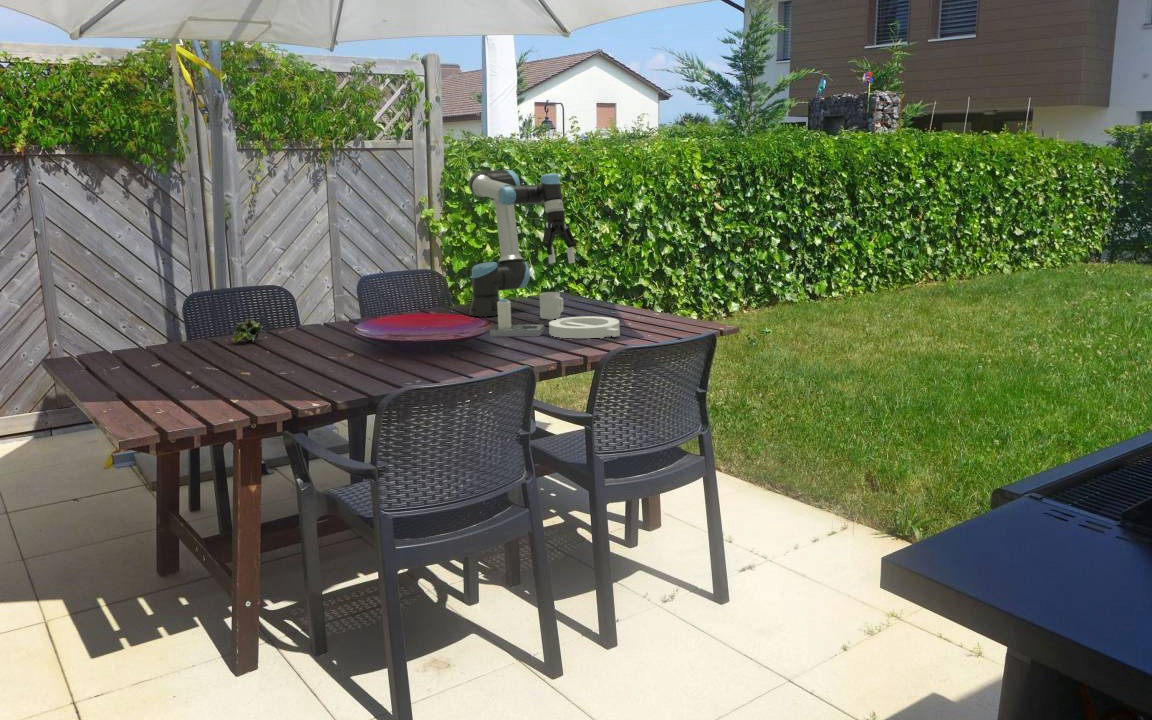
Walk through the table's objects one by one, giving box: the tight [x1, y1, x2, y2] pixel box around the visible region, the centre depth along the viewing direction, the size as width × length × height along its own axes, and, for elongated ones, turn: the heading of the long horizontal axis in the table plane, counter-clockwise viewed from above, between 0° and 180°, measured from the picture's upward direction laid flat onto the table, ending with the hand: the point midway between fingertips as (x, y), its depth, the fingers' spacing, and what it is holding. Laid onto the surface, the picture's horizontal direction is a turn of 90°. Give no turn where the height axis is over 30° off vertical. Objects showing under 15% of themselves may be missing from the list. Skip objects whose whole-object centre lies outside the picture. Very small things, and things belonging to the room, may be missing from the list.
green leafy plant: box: [232, 318, 266, 343], centre depth 371 cm, size 11×11×12 cm
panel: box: [489, 323, 545, 338], centre depth 375 cm, size 13×20×2 cm, turn 84°
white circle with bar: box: [548, 315, 621, 339], centre depth 372 cm, size 28×28×5 cm
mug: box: [538, 291, 564, 321], centre depth 407 cm, size 12×9×11 cm
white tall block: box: [497, 298, 512, 329], centre depth 374 cm, size 4×4×14 cm
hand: (562, 263), depth 384 cm, fingers open, 13 cm apart
